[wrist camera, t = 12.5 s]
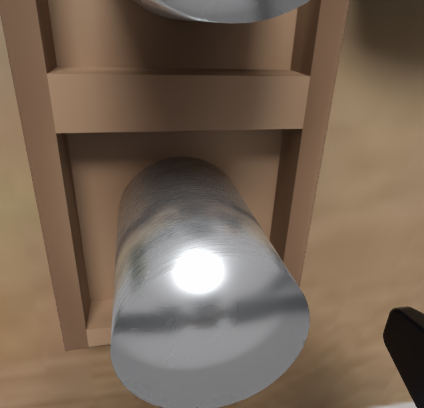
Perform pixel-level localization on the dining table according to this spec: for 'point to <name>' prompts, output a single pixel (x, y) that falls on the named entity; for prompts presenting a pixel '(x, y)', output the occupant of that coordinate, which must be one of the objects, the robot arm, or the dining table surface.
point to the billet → (199, 291)
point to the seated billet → (220, 9)
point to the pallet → (164, 124)
